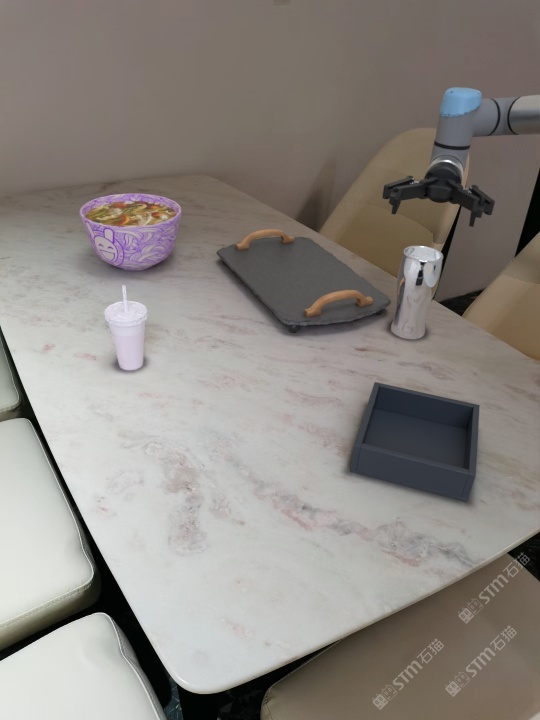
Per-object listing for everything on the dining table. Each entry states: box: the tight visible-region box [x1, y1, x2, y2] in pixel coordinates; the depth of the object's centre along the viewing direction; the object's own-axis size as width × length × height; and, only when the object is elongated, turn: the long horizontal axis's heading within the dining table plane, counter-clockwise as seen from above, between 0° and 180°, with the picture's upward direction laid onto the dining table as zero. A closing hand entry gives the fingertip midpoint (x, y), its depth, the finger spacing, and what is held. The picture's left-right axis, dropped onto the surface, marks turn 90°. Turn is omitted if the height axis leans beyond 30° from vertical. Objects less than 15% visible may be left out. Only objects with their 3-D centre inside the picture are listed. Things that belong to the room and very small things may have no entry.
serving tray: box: [216, 228, 392, 334], centre depth 118 cm, size 39×23×6 cm, turn 26°
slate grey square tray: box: [349, 381, 481, 503], centre depth 79 cm, size 15×15×5 cm
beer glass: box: [390, 245, 444, 340], centre depth 103 cm, size 7×7×15 cm
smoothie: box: [103, 284, 149, 371], centre depth 90 cm, size 6×6×14 cm
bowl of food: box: [78, 193, 182, 272], centre depth 123 cm, size 20×20×12 cm
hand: (433, 213), depth 105 cm, fingers open, 13 cm apart
